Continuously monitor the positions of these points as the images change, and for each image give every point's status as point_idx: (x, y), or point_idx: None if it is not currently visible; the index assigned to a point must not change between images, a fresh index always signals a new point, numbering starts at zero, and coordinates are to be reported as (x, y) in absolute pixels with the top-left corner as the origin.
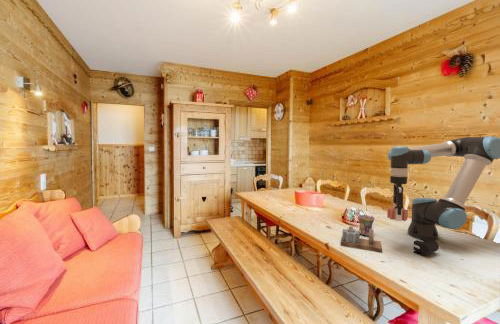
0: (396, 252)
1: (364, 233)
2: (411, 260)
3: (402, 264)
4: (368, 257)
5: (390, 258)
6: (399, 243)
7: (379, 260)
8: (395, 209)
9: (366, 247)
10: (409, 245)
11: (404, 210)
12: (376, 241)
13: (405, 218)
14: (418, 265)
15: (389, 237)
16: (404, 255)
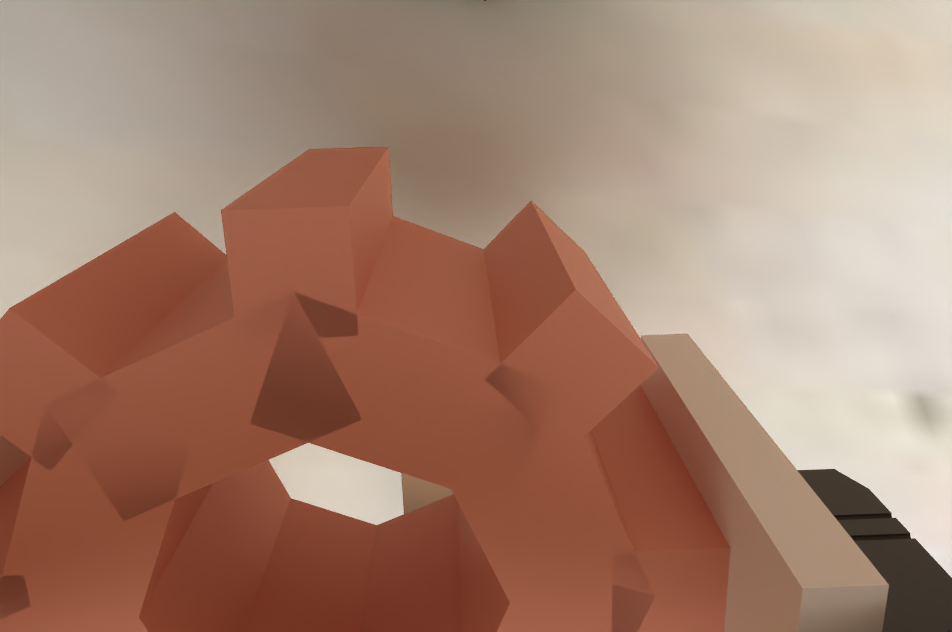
0: (585, 231)
1: None
2: (783, 70)
3: (944, 196)
4: None
5: (813, 317)
6: (201, 158)
7: (914, 435)
8: (187, 622)
9: None
10: (206, 16)
11: (439, 357)
12: (437, 486)
13: (565, 240)
14: (913, 3)
15: (10, 280)
16: (647, 139)
